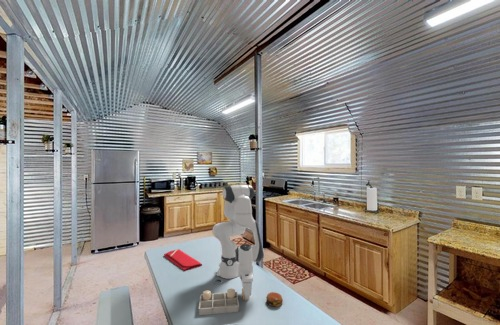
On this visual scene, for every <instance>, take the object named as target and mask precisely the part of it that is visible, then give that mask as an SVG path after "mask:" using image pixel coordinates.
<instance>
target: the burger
mask: <svg viewBox="0 0 500 325" xmlns="http://www.w3.org/2000/svg"><path fill="white" fill-rule="evenodd" d="M283 301H284V300H283V296H282V295H281V294H280V293H278V292H275V291H274V292H268V294H266V302H267V304H268V305H269V306H270V307H276V308H278V307H281V306H282V305H283V303H284V302H283Z"/></svg>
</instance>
